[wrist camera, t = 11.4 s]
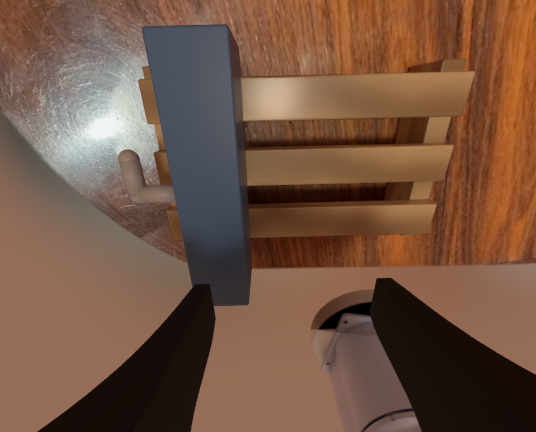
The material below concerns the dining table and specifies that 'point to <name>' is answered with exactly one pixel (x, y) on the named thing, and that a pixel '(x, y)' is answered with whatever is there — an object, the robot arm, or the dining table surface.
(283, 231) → the rack
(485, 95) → the dining table surface
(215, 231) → the slate blue rectangular box
